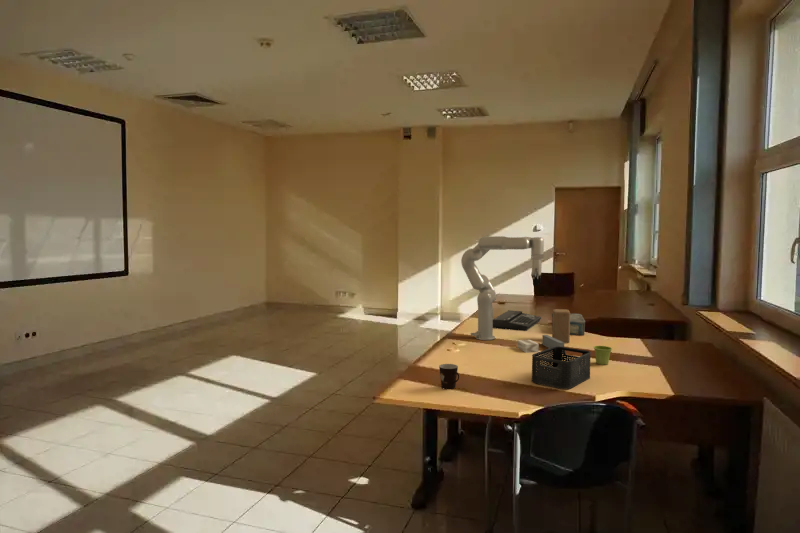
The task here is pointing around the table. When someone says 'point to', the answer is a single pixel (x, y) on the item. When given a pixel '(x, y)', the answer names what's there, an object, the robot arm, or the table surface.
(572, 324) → the metal box
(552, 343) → the curved slate gray block
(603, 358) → the plant pot
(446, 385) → the coffee mug
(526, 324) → the vintage computer
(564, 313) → the wooden block
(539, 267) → the robot arm
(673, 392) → the table surface
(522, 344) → the off-white block
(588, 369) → the storage bin
